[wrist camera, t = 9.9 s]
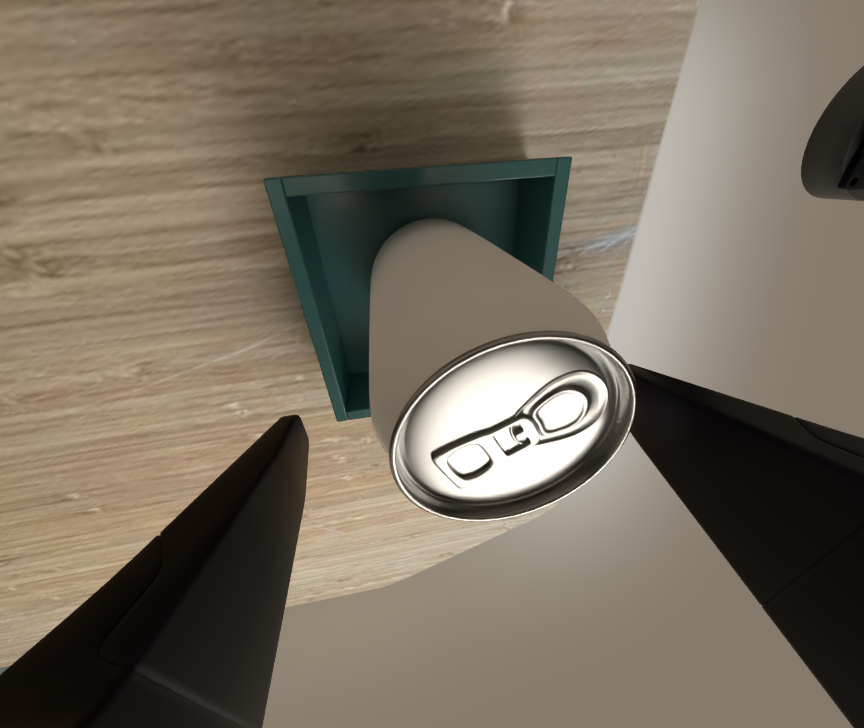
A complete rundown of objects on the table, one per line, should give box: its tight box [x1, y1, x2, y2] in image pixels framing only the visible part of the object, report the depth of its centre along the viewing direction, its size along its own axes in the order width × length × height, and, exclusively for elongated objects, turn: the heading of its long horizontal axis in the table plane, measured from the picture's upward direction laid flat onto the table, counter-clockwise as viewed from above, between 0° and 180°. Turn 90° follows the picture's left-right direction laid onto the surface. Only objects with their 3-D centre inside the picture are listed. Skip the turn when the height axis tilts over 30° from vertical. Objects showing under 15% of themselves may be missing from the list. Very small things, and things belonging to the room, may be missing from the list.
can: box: [369, 218, 638, 521], centre depth 12 cm, size 6×6×12 cm
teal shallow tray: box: [263, 157, 572, 422], centre depth 16 cm, size 11×11×4 cm
